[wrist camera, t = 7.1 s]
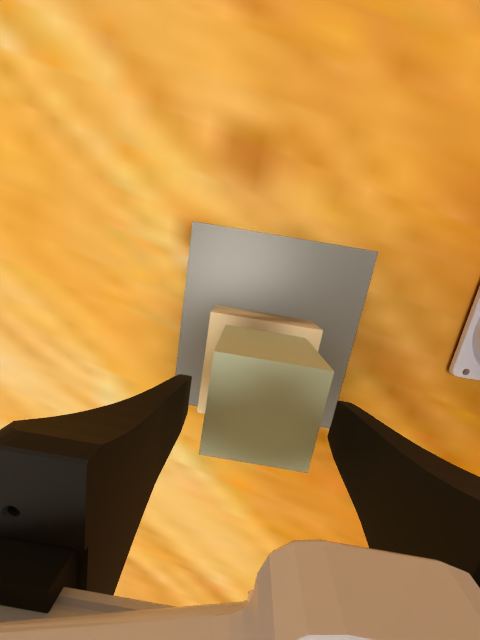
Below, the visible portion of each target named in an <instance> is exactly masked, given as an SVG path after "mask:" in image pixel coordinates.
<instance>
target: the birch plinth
mask: <svg viewBox="0 0 480 640" xmlns="http://www.w3.org/2000/svg"><path fill="white" fill-rule="evenodd" d="M225 325H232V326H238V327H244V328H250V329H256V330H262V331H268V332H274V333H280V334H286V335H292V336H298V337H304V338H306V339H307V340H308V341H309V342H310V344H311V345H312V346H313V347H314V348H315V349H316V351H317V352H318V350H319V346H320V342H321V337H322V333H323V330H322V329H321V328H320V327H318V326H317V325H316V324H315V323H313V322H312V321H311V320H305V319H299V318H293V317H287V316H281V315H275V314H269V313H263V312H257V311H250V310H244V309H238V308H232V307H226V306H220V305H217V306H216V307H215V308H214V309H213V310H212V311H211V313H210V320H209V328H208V335H207V342H206V350H205V357H204V364H203V372H202V379H201V386H200V394H199V401H198V408H197V413H203V414H205V409H206V402H207V396H208V389H209V382H210V375H211V368H212V362H213V355H214V350H215V348H216V346H217V343H218V341H219V339H220V337H221V334H222V332H223V330H224V328H225Z"/></svg>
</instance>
